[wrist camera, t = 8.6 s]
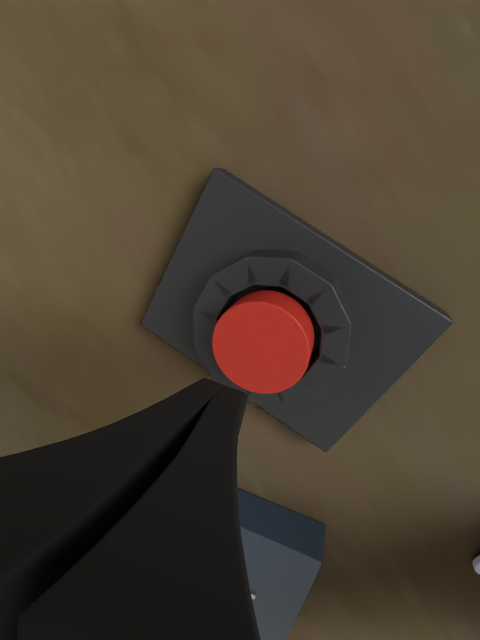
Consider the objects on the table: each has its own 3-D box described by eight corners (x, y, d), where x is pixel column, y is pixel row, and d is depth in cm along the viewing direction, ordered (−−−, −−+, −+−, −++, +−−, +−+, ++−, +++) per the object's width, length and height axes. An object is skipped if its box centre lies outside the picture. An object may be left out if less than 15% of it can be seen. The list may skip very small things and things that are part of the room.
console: (326, 524, 21) (322, 566, 19) (284, 617, 25) (277, 662, 23) (125, 440, 24) (100, 467, 22) (116, 536, 28) (93, 568, 26)
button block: (447, 312, 16) (466, 338, 13) (327, 439, 19) (323, 478, 17) (222, 168, 16) (196, 163, 14) (150, 317, 20) (119, 336, 18)
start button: (333, 325, 15) (331, 341, 13) (282, 390, 16) (274, 411, 15) (253, 271, 15) (241, 281, 13) (210, 341, 17) (195, 357, 15)
